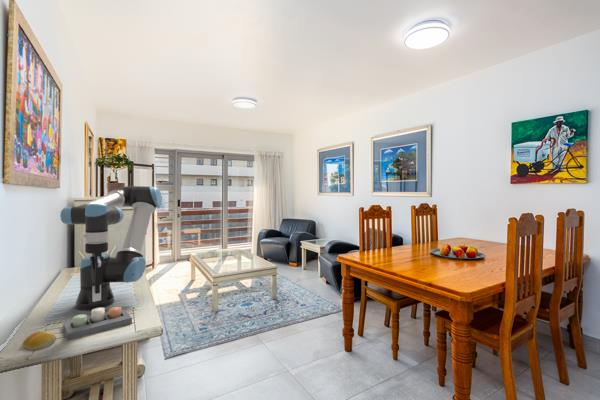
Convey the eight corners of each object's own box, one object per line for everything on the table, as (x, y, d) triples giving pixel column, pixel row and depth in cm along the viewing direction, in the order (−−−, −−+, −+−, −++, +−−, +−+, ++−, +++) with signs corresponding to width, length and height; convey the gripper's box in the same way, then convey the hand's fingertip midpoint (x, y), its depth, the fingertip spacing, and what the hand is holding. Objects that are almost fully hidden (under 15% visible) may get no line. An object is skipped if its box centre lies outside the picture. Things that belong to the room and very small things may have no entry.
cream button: (90, 319, 121) (90, 309, 121) (103, 316, 124) (103, 306, 124) (92, 322, 118) (92, 312, 118) (105, 319, 121) (105, 309, 121)
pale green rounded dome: (72, 326, 117) (71, 316, 117) (85, 323, 120) (85, 313, 120) (73, 330, 114) (73, 319, 113) (87, 326, 117) (87, 316, 116)
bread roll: (34, 353, 100) (34, 341, 100) (18, 347, 104) (18, 336, 103) (61, 341, 108) (61, 330, 108) (46, 336, 111) (46, 326, 111)
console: (63, 327, 119) (63, 321, 119) (122, 312, 133) (122, 307, 133) (67, 340, 109) (67, 333, 108) (131, 323, 123) (131, 317, 123)
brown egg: (107, 317, 125) (107, 308, 125) (119, 315, 128) (119, 305, 128) (110, 321, 122) (110, 311, 122) (122, 318, 125) (122, 308, 125)
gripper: (82, 240, 122) (83, 298, 122) (87, 245, 112) (88, 307, 113) (104, 239, 127) (104, 294, 128) (111, 243, 117) (111, 302, 118)
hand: (96, 300), depth 120 cm, fingers closed
